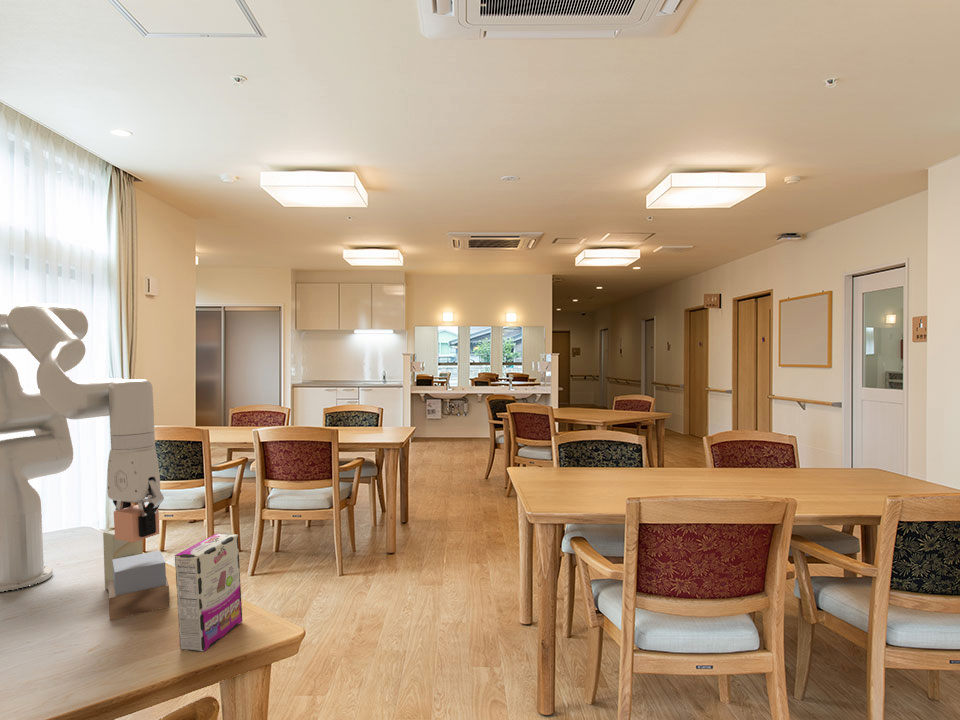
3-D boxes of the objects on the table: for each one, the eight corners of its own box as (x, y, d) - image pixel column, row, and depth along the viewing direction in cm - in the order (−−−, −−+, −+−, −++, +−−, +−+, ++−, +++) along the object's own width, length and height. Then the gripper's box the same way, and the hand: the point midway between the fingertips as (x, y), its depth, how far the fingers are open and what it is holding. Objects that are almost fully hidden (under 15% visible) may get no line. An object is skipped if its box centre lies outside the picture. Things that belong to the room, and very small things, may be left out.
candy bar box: (219, 620, 111) (215, 532, 110) (243, 622, 110) (240, 533, 109) (176, 651, 100) (173, 553, 99) (203, 653, 99) (199, 555, 98)
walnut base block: (109, 621, 112) (108, 598, 112) (109, 603, 120) (108, 581, 120) (169, 608, 117) (168, 585, 117) (165, 591, 125) (164, 569, 125)
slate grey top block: (115, 596, 112) (114, 572, 112) (113, 581, 119) (112, 559, 119) (166, 584, 117) (165, 562, 117) (161, 571, 124) (160, 550, 124)
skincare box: (114, 593, 124) (112, 535, 124) (103, 589, 127) (101, 532, 126) (145, 582, 130) (143, 527, 129) (134, 578, 132) (132, 524, 132)
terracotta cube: (115, 539, 117) (113, 511, 117) (141, 530, 122) (140, 504, 122) (133, 542, 114) (131, 513, 114) (159, 533, 119) (158, 506, 119)
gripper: (86, 443, 118) (91, 534, 118) (144, 447, 110) (148, 544, 111) (123, 437, 125) (127, 523, 125) (179, 440, 117) (183, 532, 118)
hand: (137, 532), depth 118 cm, fingers closed on terracotta cube, 5 cm apart
